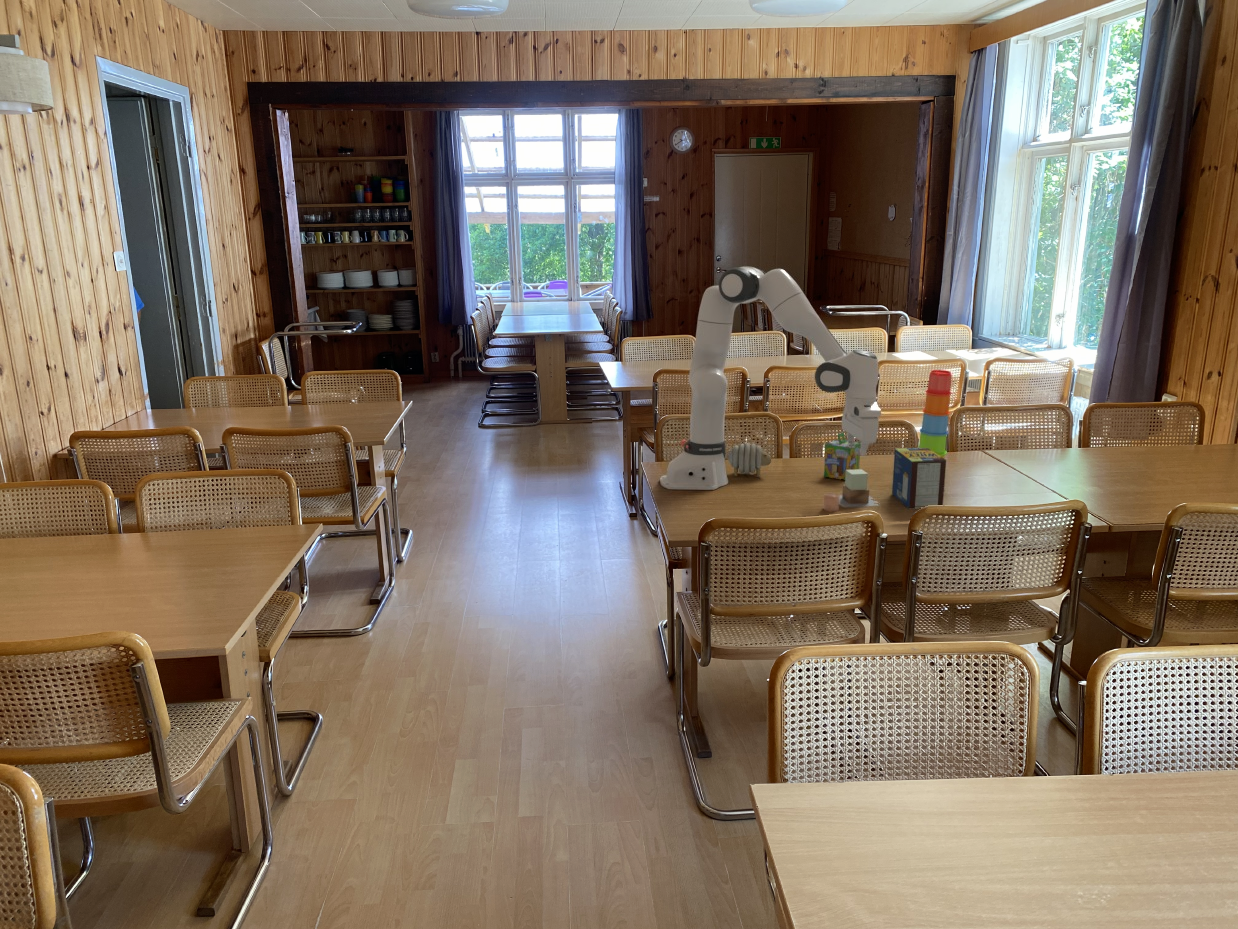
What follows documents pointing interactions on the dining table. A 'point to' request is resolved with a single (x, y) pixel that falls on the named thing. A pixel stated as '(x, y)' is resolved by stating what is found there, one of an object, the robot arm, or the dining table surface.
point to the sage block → (856, 479)
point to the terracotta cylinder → (831, 502)
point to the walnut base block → (855, 495)
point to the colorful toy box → (840, 458)
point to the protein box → (918, 477)
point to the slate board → (846, 504)
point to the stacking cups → (936, 412)
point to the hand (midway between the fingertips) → (856, 451)
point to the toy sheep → (748, 458)
